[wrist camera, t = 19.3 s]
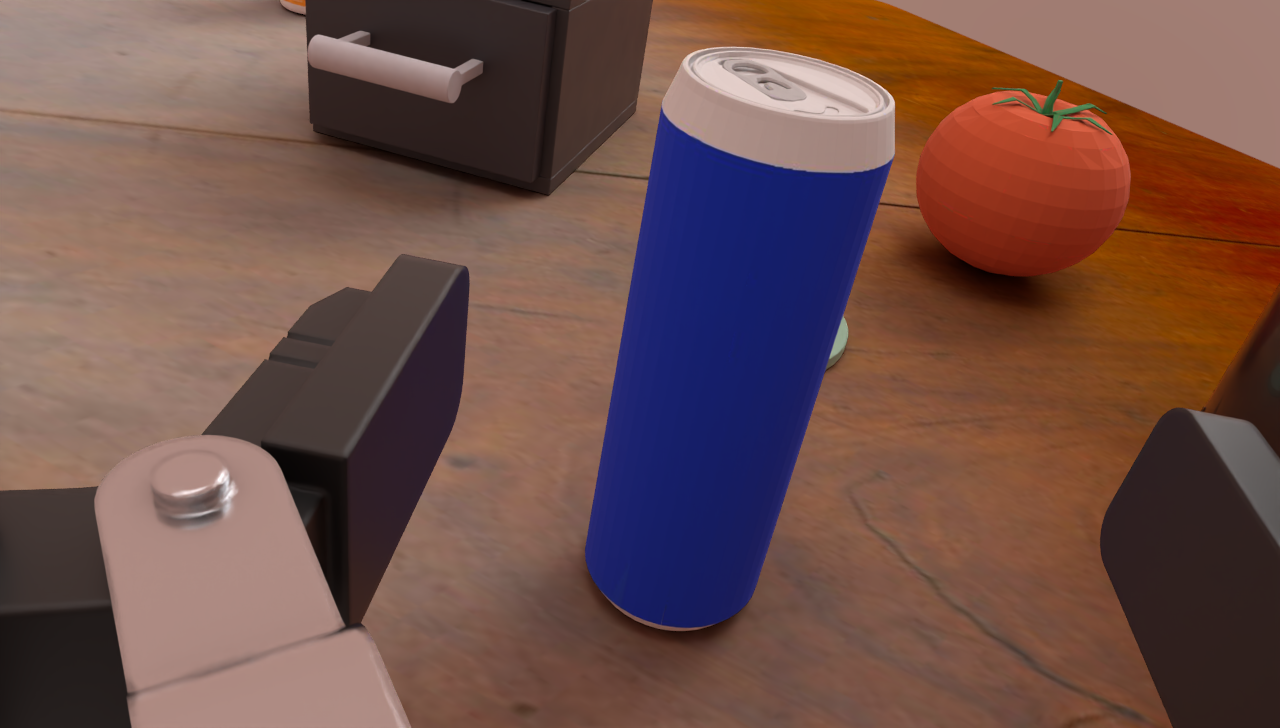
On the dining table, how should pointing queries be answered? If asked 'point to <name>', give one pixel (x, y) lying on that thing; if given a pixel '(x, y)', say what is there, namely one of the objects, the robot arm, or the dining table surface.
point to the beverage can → (730, 322)
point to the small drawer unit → (574, 87)
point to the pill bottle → (295, 5)
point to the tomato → (1022, 182)
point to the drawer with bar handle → (436, 77)
